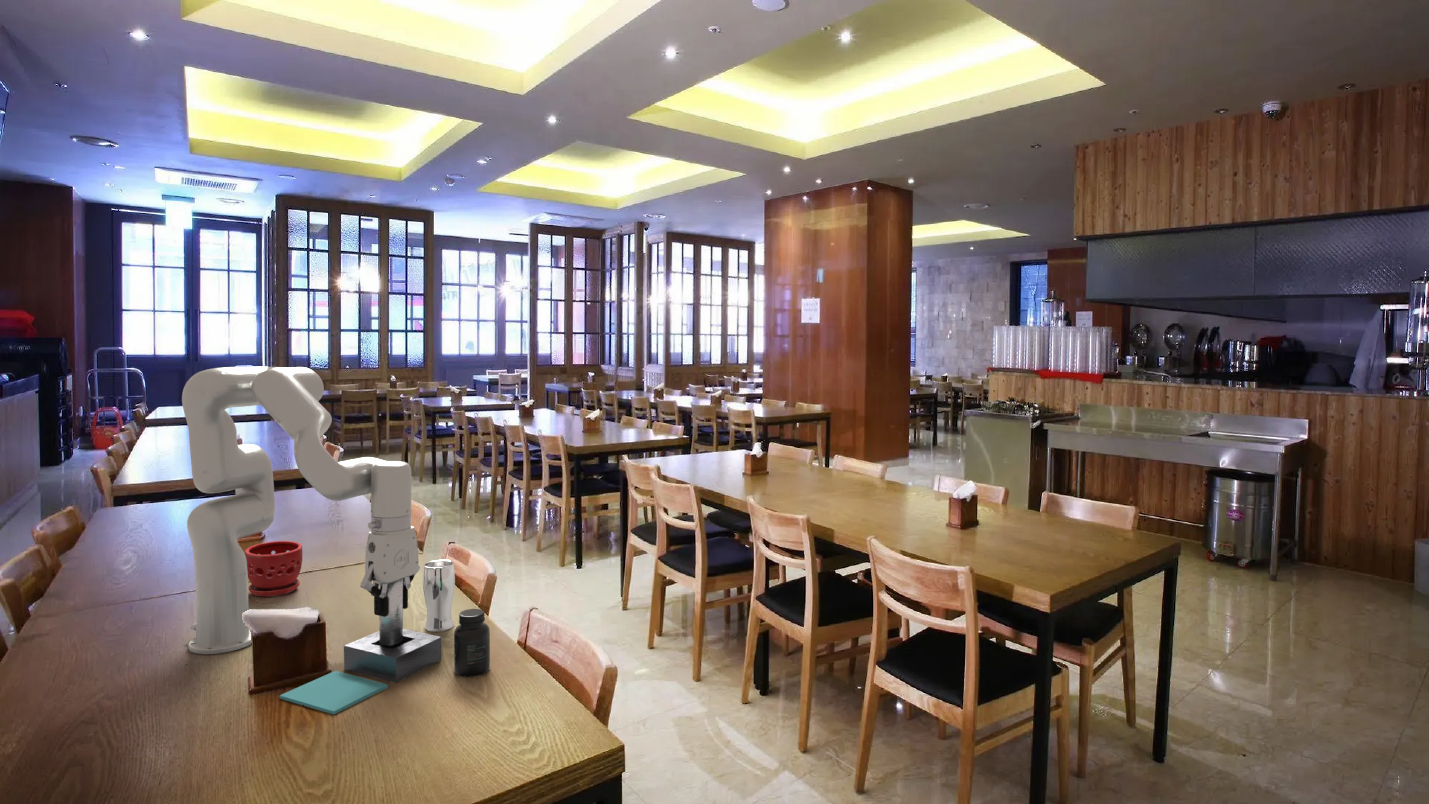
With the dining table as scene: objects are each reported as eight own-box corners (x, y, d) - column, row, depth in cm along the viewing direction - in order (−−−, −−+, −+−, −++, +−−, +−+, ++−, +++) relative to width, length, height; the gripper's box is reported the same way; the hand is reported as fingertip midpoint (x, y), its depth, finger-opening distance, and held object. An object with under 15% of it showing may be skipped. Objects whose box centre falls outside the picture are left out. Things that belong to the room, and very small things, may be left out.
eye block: (344, 669, 154) (343, 645, 154) (391, 648, 165) (391, 625, 165) (396, 683, 148) (395, 658, 148) (441, 660, 159) (441, 637, 159)
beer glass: (444, 634, 174) (444, 569, 173) (417, 631, 175) (416, 566, 174) (460, 623, 181) (460, 560, 179) (434, 620, 182) (433, 558, 181)
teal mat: (279, 698, 141) (279, 695, 141) (335, 673, 152) (335, 670, 152) (333, 714, 136) (333, 711, 136) (387, 687, 147) (387, 684, 147)
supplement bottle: (452, 666, 157) (452, 609, 156) (487, 661, 159) (487, 605, 158) (455, 680, 150) (455, 620, 149) (491, 674, 153) (491, 616, 152)
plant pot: (233, 595, 197) (232, 550, 196) (279, 581, 209) (278, 538, 208) (269, 603, 192) (268, 556, 191) (314, 588, 204) (313, 543, 203)
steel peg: (374, 642, 155) (374, 579, 154) (391, 635, 159) (391, 574, 158) (390, 646, 154) (390, 583, 153) (407, 639, 158) (407, 577, 157)
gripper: (370, 534, 145) (370, 628, 147) (436, 517, 161) (435, 602, 162) (342, 529, 148) (342, 621, 150) (409, 512, 164) (409, 596, 165)
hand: (391, 610), depth 156 cm, fingers closed on steel peg, 4 cm apart
